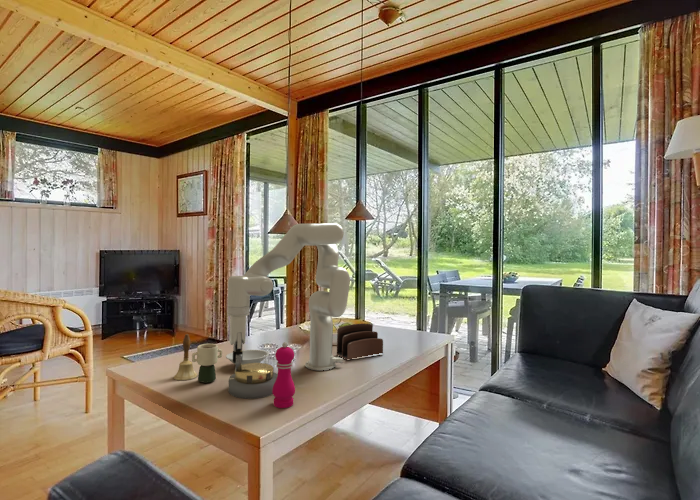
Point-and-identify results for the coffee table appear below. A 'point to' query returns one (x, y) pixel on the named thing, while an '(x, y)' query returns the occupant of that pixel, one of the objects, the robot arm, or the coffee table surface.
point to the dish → (250, 356)
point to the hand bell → (186, 363)
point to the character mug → (207, 361)
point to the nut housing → (251, 388)
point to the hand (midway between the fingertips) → (237, 362)
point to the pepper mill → (284, 378)
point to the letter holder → (358, 341)
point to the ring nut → (252, 372)
